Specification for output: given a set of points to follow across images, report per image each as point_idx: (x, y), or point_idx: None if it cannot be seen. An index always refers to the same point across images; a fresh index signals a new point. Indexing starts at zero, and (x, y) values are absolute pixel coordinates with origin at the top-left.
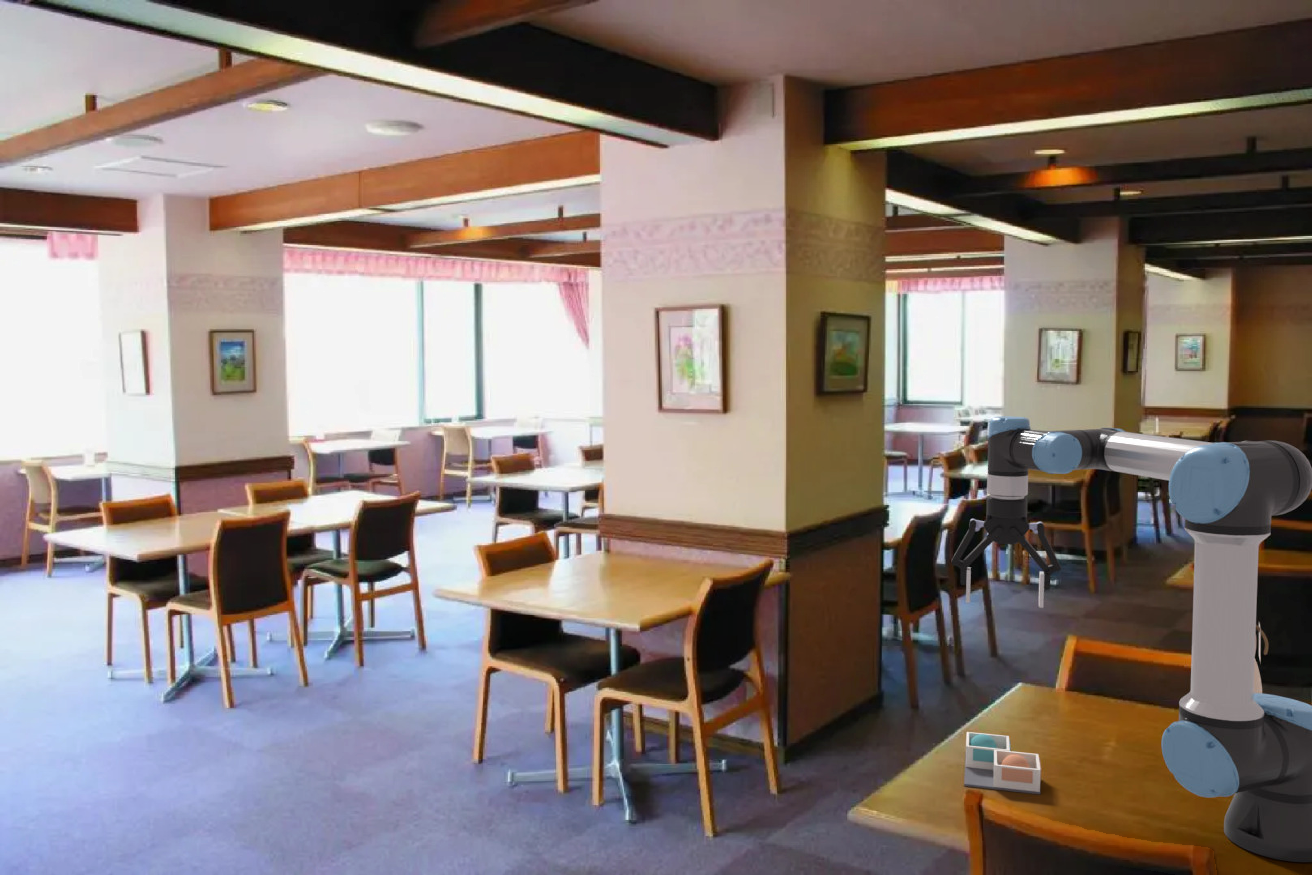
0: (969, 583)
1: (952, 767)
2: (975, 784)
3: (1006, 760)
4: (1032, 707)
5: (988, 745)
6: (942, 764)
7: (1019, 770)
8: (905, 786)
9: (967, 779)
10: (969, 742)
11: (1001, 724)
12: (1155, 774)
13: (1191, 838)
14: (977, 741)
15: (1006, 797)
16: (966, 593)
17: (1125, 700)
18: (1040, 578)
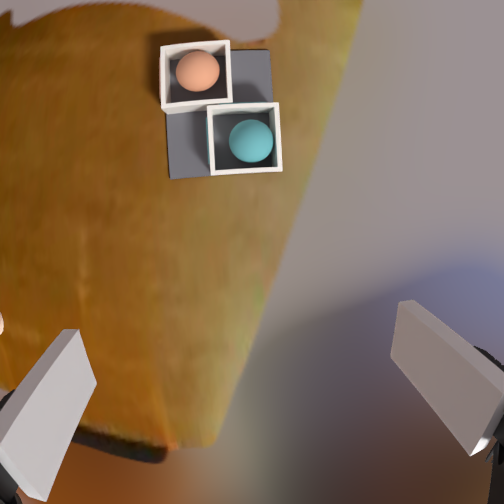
0: (456, 347)
1: (290, 110)
2: (253, 52)
3: (211, 59)
4: (195, 390)
5: (242, 123)
6: (305, 117)
7: (191, 42)
8: (341, 36)
9: (266, 65)
10: (274, 166)
11: (230, 316)
12: (31, 196)
13: (26, 31)
14: (261, 126)
15: (210, 33)
16: (436, 317)
17: (101, 431)
18: (10, 425)
